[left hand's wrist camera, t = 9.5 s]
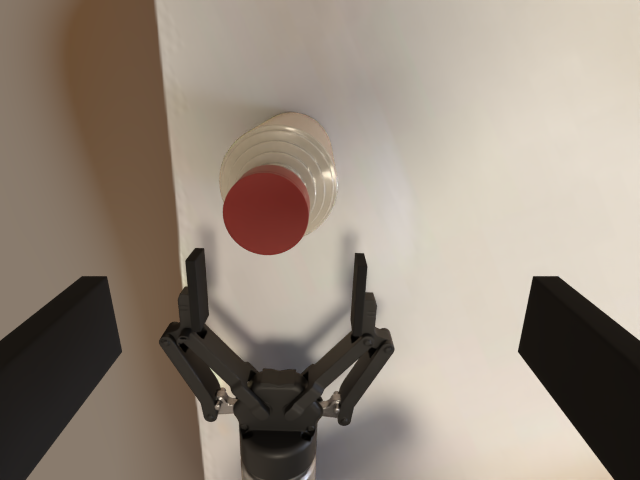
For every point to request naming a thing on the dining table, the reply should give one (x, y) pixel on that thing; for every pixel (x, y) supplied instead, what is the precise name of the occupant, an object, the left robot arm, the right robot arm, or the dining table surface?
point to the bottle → (288, 159)
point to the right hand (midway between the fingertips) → (278, 256)
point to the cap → (267, 210)
